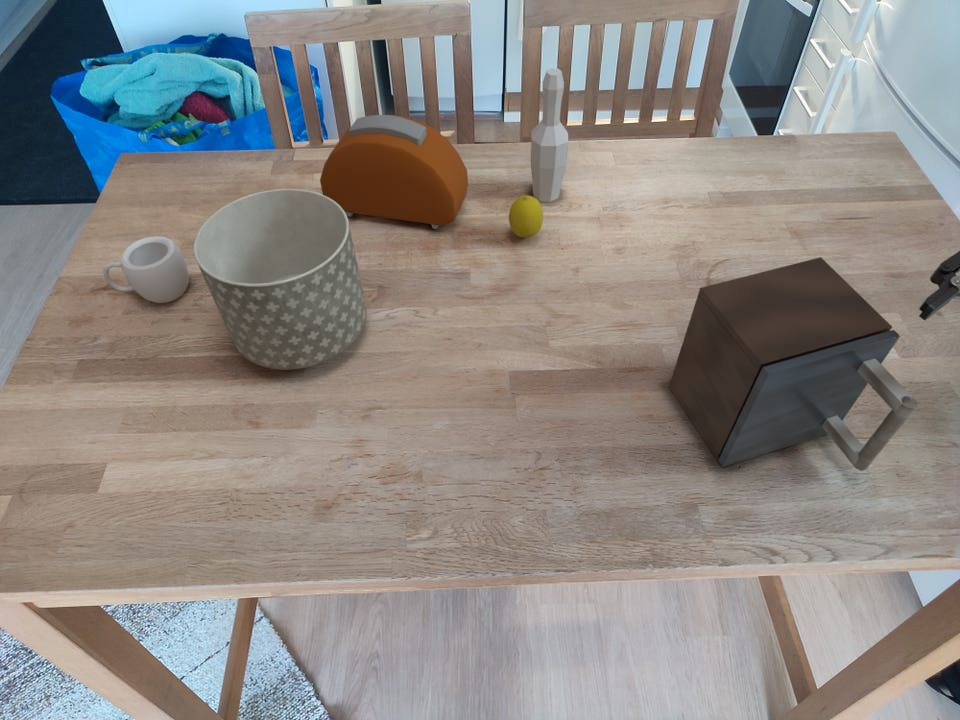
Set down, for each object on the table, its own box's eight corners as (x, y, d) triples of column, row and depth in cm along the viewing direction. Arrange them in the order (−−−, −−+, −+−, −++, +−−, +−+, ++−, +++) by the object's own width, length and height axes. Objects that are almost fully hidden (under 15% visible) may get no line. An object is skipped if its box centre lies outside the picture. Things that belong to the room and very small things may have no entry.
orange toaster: (470, 203, 115) (466, 114, 102) (456, 235, 109) (451, 144, 97) (345, 186, 119) (327, 98, 107) (325, 215, 114) (304, 126, 101)
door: (871, 477, 78) (949, 383, 65) (754, 516, 75) (810, 426, 62) (829, 425, 83) (893, 329, 70) (717, 460, 80) (762, 366, 67)
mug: (199, 270, 105) (181, 230, 99) (191, 307, 99) (171, 267, 93) (122, 277, 104) (99, 238, 98) (109, 315, 99) (84, 276, 93)
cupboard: (827, 425, 83) (892, 326, 70) (716, 459, 80) (761, 364, 67) (772, 357, 91) (821, 256, 77) (668, 386, 88) (700, 287, 74)
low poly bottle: (523, 187, 118) (527, 65, 101) (556, 181, 119) (566, 59, 102) (534, 207, 114) (541, 84, 97) (569, 201, 115) (581, 78, 98)
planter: (221, 384, 89) (172, 285, 76) (254, 288, 102) (216, 188, 88) (361, 383, 89) (336, 284, 75) (376, 287, 101) (358, 187, 88)
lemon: (514, 224, 111) (515, 183, 105) (545, 230, 110) (548, 189, 104) (504, 243, 108) (504, 203, 102) (536, 250, 106) (539, 210, 100)
